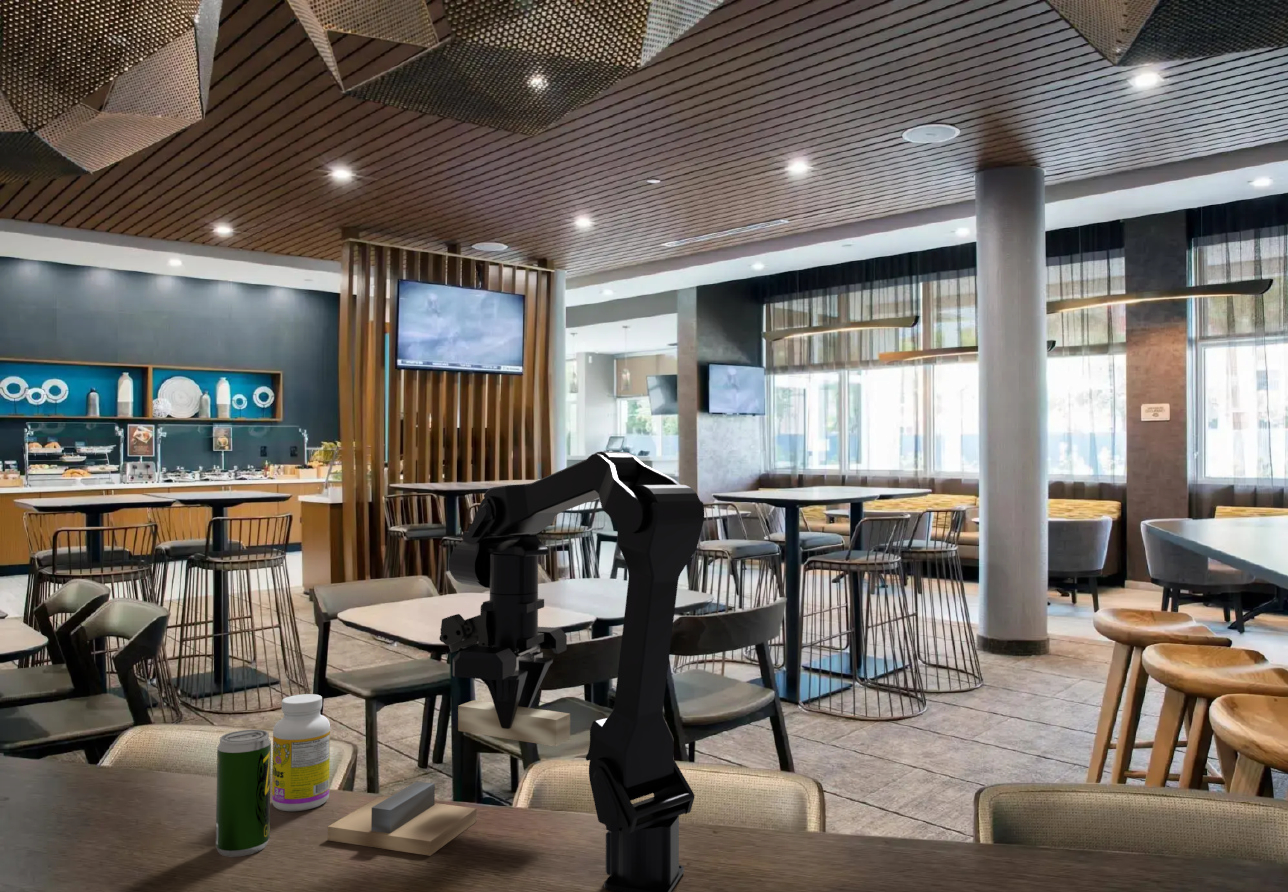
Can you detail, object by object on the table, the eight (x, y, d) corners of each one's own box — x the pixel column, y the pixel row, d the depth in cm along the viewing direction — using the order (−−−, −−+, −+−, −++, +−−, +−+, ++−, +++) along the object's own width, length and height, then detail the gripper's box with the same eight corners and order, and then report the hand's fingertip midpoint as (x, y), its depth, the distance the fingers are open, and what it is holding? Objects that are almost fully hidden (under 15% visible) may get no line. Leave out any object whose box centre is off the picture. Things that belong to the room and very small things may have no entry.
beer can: (219, 862, 94) (221, 745, 94) (211, 844, 98) (213, 733, 99) (274, 850, 97) (275, 737, 97) (264, 833, 101) (265, 726, 102)
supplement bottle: (270, 798, 112) (272, 694, 113) (326, 790, 115) (327, 689, 116) (273, 816, 106) (274, 707, 107) (332, 808, 109) (333, 701, 110)
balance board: (476, 821, 105) (476, 786, 105) (430, 855, 95) (430, 817, 95) (380, 808, 109) (381, 775, 109) (327, 840, 99) (328, 803, 100)
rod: (570, 739, 105) (570, 713, 105) (556, 746, 102) (556, 719, 102) (473, 724, 111) (473, 700, 111) (458, 730, 108) (458, 705, 108)
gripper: (490, 581, 118) (489, 700, 118) (411, 599, 101) (410, 739, 100) (568, 584, 115) (568, 707, 114) (500, 603, 97) (499, 749, 97)
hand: (513, 724), depth 106 cm, fingers closed on rod, 3 cm apart
